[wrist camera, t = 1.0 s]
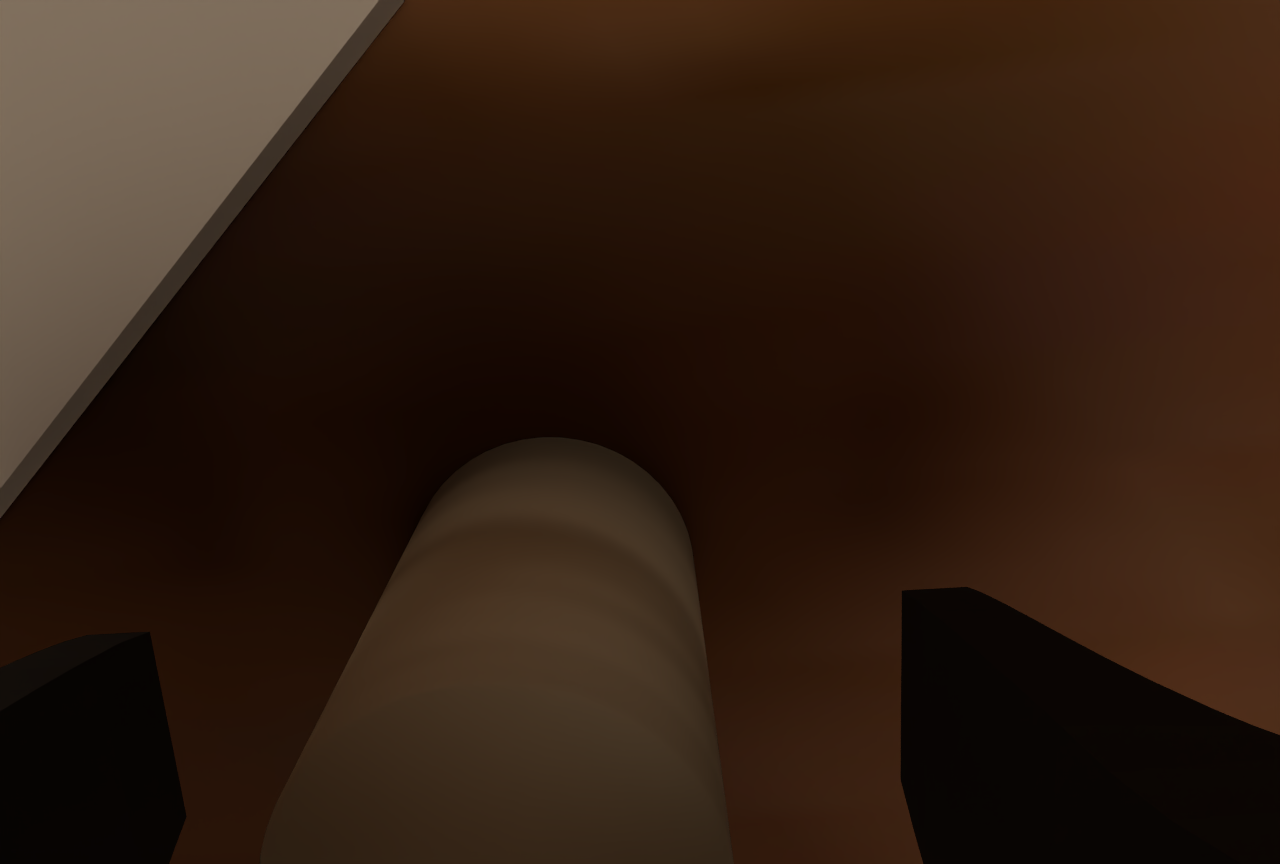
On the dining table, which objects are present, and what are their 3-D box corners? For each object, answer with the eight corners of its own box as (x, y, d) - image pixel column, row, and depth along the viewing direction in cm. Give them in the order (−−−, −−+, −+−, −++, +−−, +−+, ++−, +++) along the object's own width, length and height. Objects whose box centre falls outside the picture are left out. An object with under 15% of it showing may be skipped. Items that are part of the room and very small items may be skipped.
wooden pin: (568, 748, 15) (526, 1158, 9) (354, 583, 14) (164, 914, 8) (752, 561, 14) (835, 878, 8) (536, 377, 13) (463, 586, 8)
